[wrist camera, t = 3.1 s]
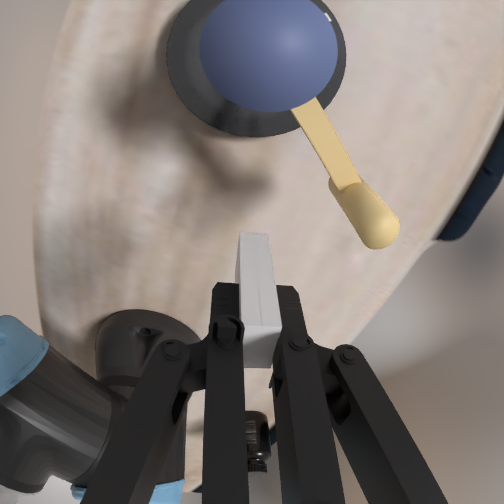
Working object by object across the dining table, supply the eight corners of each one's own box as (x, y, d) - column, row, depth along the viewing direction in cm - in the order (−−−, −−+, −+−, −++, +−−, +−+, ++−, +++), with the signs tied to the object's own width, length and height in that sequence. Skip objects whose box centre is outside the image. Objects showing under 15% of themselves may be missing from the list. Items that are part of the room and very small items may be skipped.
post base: (233, 162, 27) (233, 189, 22) (138, 40, 20) (112, 37, 15) (368, 84, 23) (399, 93, 18) (281, -46, 16) (293, -71, 11)
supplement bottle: (226, 422, 55) (227, 477, 45) (238, 407, 51) (240, 468, 41) (259, 426, 56) (263, 479, 46) (273, 412, 53) (279, 470, 43)
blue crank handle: (185, 39, 16) (159, 29, 10) (278, -16, 14) (300, -49, 8) (311, 217, 24) (335, 275, 18) (388, 173, 22) (435, 217, 16)
